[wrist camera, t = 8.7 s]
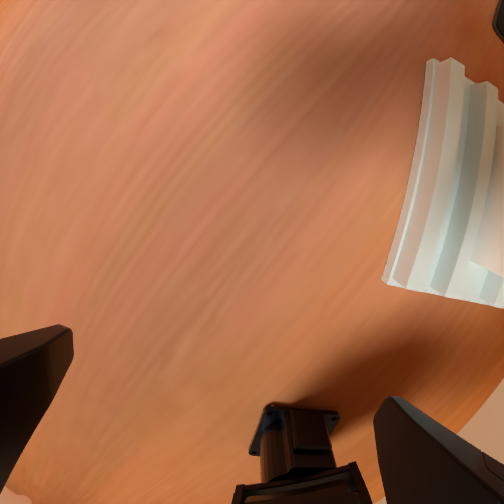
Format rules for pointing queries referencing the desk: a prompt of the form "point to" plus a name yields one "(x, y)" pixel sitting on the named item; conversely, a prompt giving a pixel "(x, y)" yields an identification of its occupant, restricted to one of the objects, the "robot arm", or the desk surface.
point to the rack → (448, 190)
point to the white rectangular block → (493, 215)
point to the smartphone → (499, 20)
